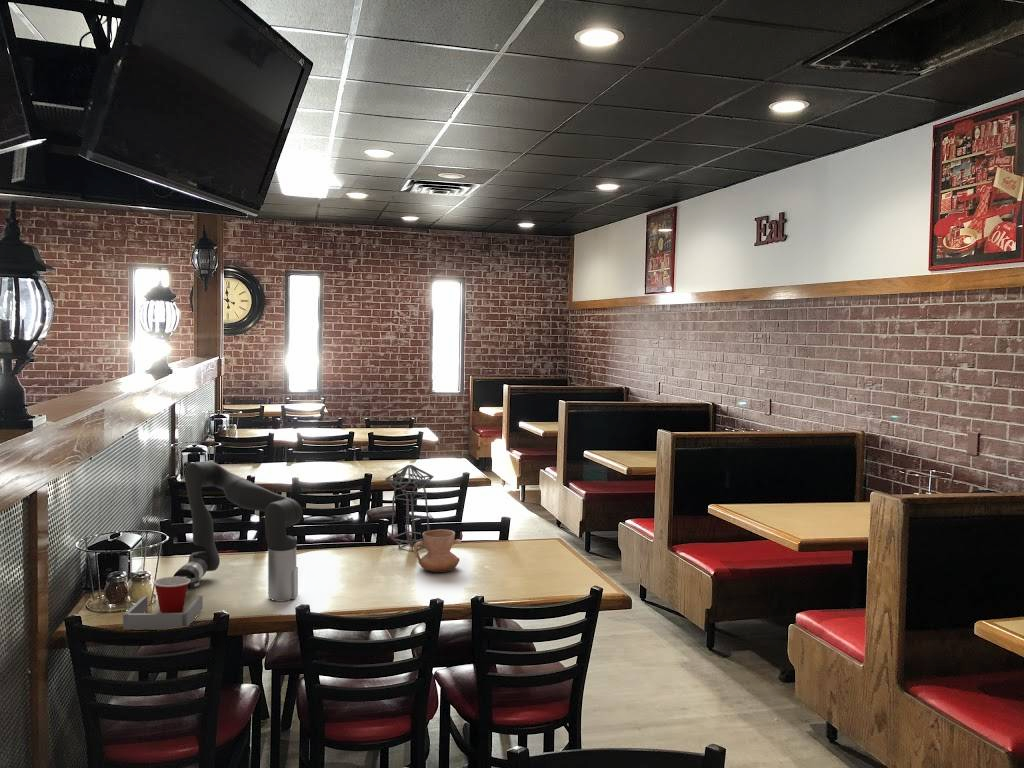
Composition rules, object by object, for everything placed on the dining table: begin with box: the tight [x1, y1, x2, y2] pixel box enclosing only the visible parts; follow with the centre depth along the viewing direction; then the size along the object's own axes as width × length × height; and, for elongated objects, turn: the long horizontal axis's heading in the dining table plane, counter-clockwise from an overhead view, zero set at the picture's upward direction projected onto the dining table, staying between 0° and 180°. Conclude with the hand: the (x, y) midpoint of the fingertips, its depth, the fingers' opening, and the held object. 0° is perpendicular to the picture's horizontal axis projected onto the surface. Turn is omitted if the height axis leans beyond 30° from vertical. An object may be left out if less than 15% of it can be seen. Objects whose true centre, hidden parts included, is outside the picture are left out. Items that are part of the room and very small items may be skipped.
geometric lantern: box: [384, 464, 435, 552], centre depth 329 cm, size 16×16×35 cm
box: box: [122, 595, 204, 630], centre depth 247 cm, size 18×16×5 cm
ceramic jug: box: [413, 529, 462, 573], centre depth 302 cm, size 18×14×14 cm
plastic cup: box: [152, 576, 191, 613], centre depth 250 cm, size 11×11×12 cm
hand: (170, 592), depth 254 cm, fingers closed
